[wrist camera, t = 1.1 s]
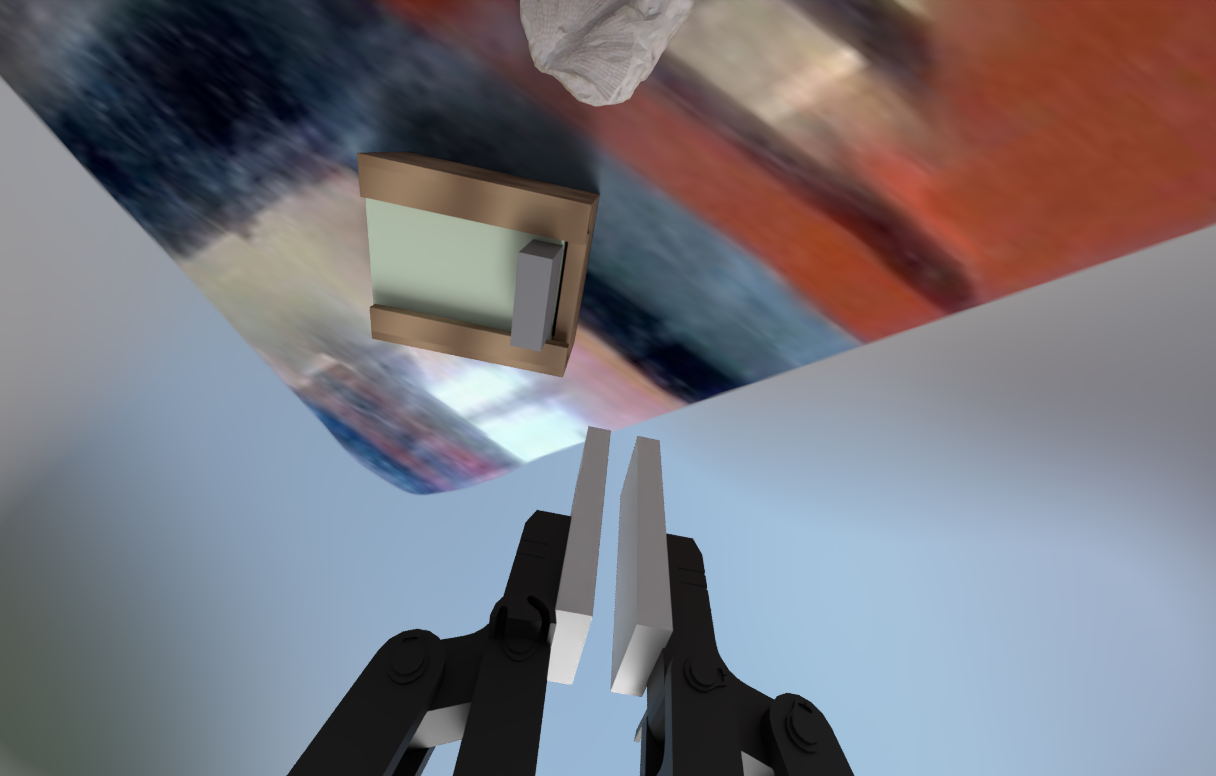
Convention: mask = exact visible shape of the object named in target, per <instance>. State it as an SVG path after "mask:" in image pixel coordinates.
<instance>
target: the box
mask: <svg viewBox="0 0 1216 776" xmlns="http://www.w3.org/2000/svg"><path fill="white" fill-rule="evenodd" d="M357 159H358V171H359V184H360V196H361V197H364V198H369V199H374V200H378V201H383V202H387V203H392V204H397V205H401V206H406V207H410V208H415V209H420V210H424V211H429V212H433V213H438V214H442V215H447V216H452V217H456V218H461V219H465V220H470V221H475V222H479V223H484V224H488V225H493V226H498V227H502V228H507V229H511V230H516V231H520V232H525V233H530V234H534V235H539V236H543V237H548V238H553V239H557V240H562V241H566V243H565V249H564V256H563V263H562V270H561V277H560V284H559V291H558V298H557V305H556V312H555V319H554V326H553V333H552V340H549V339H546V341H545V343H544V346H543V348H542V350H541V352H540V351H535V350H530V349H525V348H520V347H515V346H511V345H510V340H511V332H510V331H505V330H501V329H496V328H491V327H486V326H481V325H477V324H472V323H467V322H462V321H457V320H453V319H448V318H443V317H438V316H433V315H428V314H424V313H419V312H414V311H409V310H404V309H400V308H395V307H390V306H385V305H380V304H374V305H373V306H371V307H370V318H371V330H372V339H377V340H382V341H387V342H392V343H397V344H402V345H406V346H411V347H416V348H421V349H426V350H431V351H436V352H441V353H446V354H451V355H455V356H460V357H465V358H470V359H475V360H480V361H485V362H490V363H495V364H500V365H504V366H509V367H514V368H519V369H524V370H529V371H534V372H539V373H544V374H549V375H553V376H558V377H563V375H564V372H565V369H566V366H567V363H568V360H569V357H570V354H571V351H572V348H573V345H574V341H575V335H576V329H577V324H578V318H579V312H580V306H581V300H582V295H583V289H584V283H585V277H586V272H587V266H588V260H589V254H590V249H591V243H592V237H593V231H594V225H595V220H596V214H597V208H598V202H599V197H600V194H596V193H591V192H587V191H582V190H578V189H573V188H569V187H564V186H560V185H555V184H551V183H546V182H542V181H537V180H533V179H528V178H524V177H520V176H515V175H511V174H506V173H502V172H497V171H493V170H488V169H484V168H479V167H475V166H470V165H466V164H461V163H457V162H452V161H448V160H443V159H439V158H434V157H430V156H426V155H421V154H417V153H412V152H373V153H357Z"/></svg>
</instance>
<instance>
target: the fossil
mask: <svg viewBox="0 0 1216 776" xmlns="http://www.w3.org/2000/svg"><path fill="white" fill-rule="evenodd" d="M694 3H695V0H520V17H521V22H522V25H523V28H524V31H525V34H526V37H527V39H528V42H529V51H530V54H531V57H532V59H533V61H534V66H536V67H537V69H538V70H540V71H541V72H543V73H546V74H550V75H552V76H554V77H555V78H556V79H558V80H559V81H560V82H561V83H562V84H563V86H564V87H565V88H566V89H567V91H569V92H571V94H572V95H573V96H574V97H575V98H576V99H577V100H578V101H581V102H584V103H586V104H591V105H592V106H603V105H612V104H617V103H623V102H624V101H625V100H627V99H630V98H631V96H632V94H633V92H634V90H635V88H636V87H637V86H638V85H639V83H640V81H644V80H646V79H647V77H648V76H649V75H650V73H651V72H652V70H653V68H654V66H655V65H656V63H657V61H658V60H659V58H660V56H661V54H662V52H663V51H664V50H665V48H666V47H667V45H668V43H669V41H670V39H671V37H672V36H674V34H675V33H676V32H677V31H678V29H679V28H680V27H681V26H682V24H683V23H684V21H685V20H686V19H687V17H688V16H689V15H690V13H691V12H692V11H693V9H694Z"/></svg>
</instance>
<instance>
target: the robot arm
mask: <svg viewBox="0 0 1216 776" xmlns="http://www.w3.org/2000/svg"><path fill="white" fill-rule="evenodd" d="M610 433H611V431H610V430H605V429H600V428H595V427H590V426H589V427H588V432H587V436H586V441H585V446H584V450H583V455H582V460H581V465H580V469H579V474H578V478H577V483H576V488H575V493H574V499H573V504H572V509H571V515H570V516H566V515H561V514H555V513H550V512H545V511H539V510H537V511H536V512H535V513H534V514H533V515H532V516H531V517H530V518H529V519H528V520H527V522H526V523H525V526H524V529H523V533H522V536H521V540H520V543H519V546H518V549H517V553H516V556H515V559H514V563H513V566H512V570H511V573H510V576H509V579H508V583H507V586H506V589H505V593H504V596H503V597H502V598H501V599H500V600H499V601H498V602H497V603H496V604H495V606H494V608H493V610H492V612H491V614H490V621H489V624H487V625H486V626H485V627H484V628H483V629H481V630H479V631H477V632H475V633H472V634H469V635H465V636H460V637H455V638H448V639H442V640H440V638H439V637H437V636H436V635H434V634H433V633H432V632H430V631H427V630H421V629H413V630H408V631H403V632H402V633H399V634H398V635H396V636H394V637H392V638H390V639H389V640H388V641H387V642H386V643H385V644H384V645H383V646H382V647H381V648H380V649H379V650H378V651H377V653H376V654H375V655H374V657H373V658H372V660H371V661H370V662H369V664H368V665H367V666H366V668H365V669H364V670H363V672H362V673H361V675H360V676H359V677H358V679H357V680H356V682H355V683H354V684H353V686H352V687H351V688H350V690H349V691H348V693H347V694H346V695H345V697H344V698H343V699H342V701H341V702H340V703H339V705H338V706H337V707H336V709H335V711H334V712H333V713H332V714H331V716H330V717H329V718H328V720H327V721H326V723H325V724H324V725H323V727H322V728H321V730H320V731H319V732H318V734H317V735H316V736H315V738H314V739H313V740H312V742H311V743H310V744H309V746H308V747H307V749H306V750H305V752H304V753H303V754H302V755H301V757H300V758H299V760H298V761H297V762H296V764H295V765H294V766H293V768H292V769H291V771H290V772H289V773H288V775H287V776H421V774H422V772H423V770H424V768H425V766H426V764H427V762H428V760H429V758H430V756H431V754H432V752H433V750H434V748H435V746H437V745H441V744H445V743H450V742H454V741H458V740H462V741H461V746H460V749H459V753H458V757H457V761H456V765H455V769H454V773H453V776H535V772H536V764H537V757H538V749H539V741H540V733H541V725H542V717H543V709H544V701H545V693H546V685H547V681H553V682H559V683H565V684H570V685H572V683H573V680H574V676H575V673H576V670H577V666H578V663H579V660H580V656H581V653H582V650H583V646H584V643H585V640H586V636H587V633H588V630H589V626H590V623H591V620H592V616H593V606H594V596H595V585H596V576H597V566H598V556H599V545H600V534H601V525H602V514H603V504H604V494H605V484H606V473H607V464H608V453H609V442H610ZM619 519H620V520H619V536H618V537H619V538H618V557H617V575H616V576H617V577H616V594H615V614H614V634H613V652H612V672H611V692H616V693H622V694H629V695H633V696H640V697H642V696H643V694H644V691H645V689H646V687H647V710H646V712H645V714H644V716H643V718H642V720H641V722H640V724H639V726H638V728H637V730H636V735H635V740H634V741H636V742H639V741H640V739H641V764H640V776H854V774H853V772H852V770H851V768H850V766H849V764H848V762H847V759H846V757H845V755H844V753H843V751H842V749H841V747H840V745H839V743H838V740H837V738H836V736H835V734H834V732H833V730H832V728H831V726H830V725H829V723H828V721H827V720H826V718H825V717H824V715H823V713H821V712H820V711H819V710H818V709H817V708H816V707H815V706H814V705H813V704H812V703H811V702H810V701H808V700H806V699H805V698H803V697H801V696H800V695H796V694H791V693H785V694H782V695H779V696H777V697H776V699H775V700H774V699H772V698H770V697H768V696H766V695H765V694H763V693H761V692H759V691H757V690H756V689H754V688H752V687H750V686H748V685H746V684H745V683H743V682H742V681H740V680H739V679H738V678H736V677H735V676H734V675H733V674H732V673H731V672H730V671H729V669H728V668H727V666H726V665H725V663H724V662H723V660H722V659H721V657H720V655H719V653H718V649H717V646H716V641H715V634H714V628H713V622H712V615H711V608H710V602H709V595H708V590H707V583H706V576H705V575H704V574H705V570H704V564H703V557H702V554H701V552H700V550H699V548H698V547H697V545H696V543H695V541H694V540H693V538H687V537H682V536H677V535H672V534H666V526H665V512H664V499H663V483H662V469H661V456H660V441H659V440H655V439H650V438H645V437H640V436H638V437H637V440H636V443H635V447H634V450H633V454H632V457H631V461H630V464H629V468H628V472H627V475H626V478H625V481H624V485H623V489H622V492H621V498H620V517H619Z"/></svg>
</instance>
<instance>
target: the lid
mask: <svg viewBox="0 0 1216 776" xmlns="http://www.w3.org/2000/svg"><path fill="white" fill-rule="evenodd" d="M365 199H366V212H367V225H368V238H369V251H370V264H371V277H372V290H373V303H374V304H380V305H385V306H390V307H395V308H400V309H404V310H409V311H414V312H419V313H424V314H428V315H433V316H438V317H443V318H448V319H453V320H457V321H462V322H467V323H472V324H477V325H481V326H486V327H491V328H496V329H501V330H505V331H510V332H511V340H510V345H511V346H515V347H520V348H525V349H530V350H535V351H540V352H541V350H542V348H543V346H544V343H545V341H546V339H549V340H552V333H553V326H554V319H555V312H556V305H557V298H558V291H559V284H560V277H561V270H562V263H563V256H564V249H565V243H566V241H562V240H557V239H553V238H548V237H543V236H539V235H534V234H530V233H525V232H520V231H516V230H511V229H507V228H502V227H498V226H493V225H488V224H484V223H479V222H475V221H470V220H465V219H461V218H456V217H452V216H447V215H442V214H438V213H433V212H429V211H424V210H420V209H415V208H410V207H406V206H401V205H397V204H392V203H387V202H383V201H378V200H374V199H369V198H365Z"/></svg>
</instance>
